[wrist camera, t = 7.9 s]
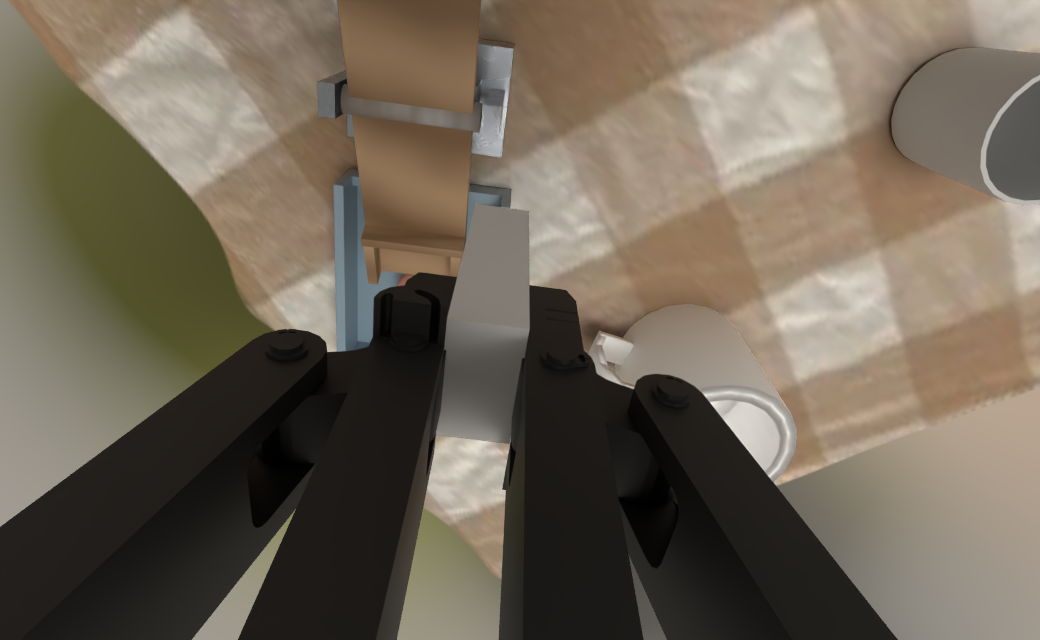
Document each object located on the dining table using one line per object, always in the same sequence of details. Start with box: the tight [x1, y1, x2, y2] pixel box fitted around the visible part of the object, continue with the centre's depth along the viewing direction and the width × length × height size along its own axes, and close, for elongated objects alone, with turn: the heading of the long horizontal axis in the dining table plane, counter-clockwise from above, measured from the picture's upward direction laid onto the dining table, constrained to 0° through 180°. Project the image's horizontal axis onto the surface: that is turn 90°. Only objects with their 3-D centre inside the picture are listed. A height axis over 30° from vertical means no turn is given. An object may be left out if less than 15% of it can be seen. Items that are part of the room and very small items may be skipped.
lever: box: [337, 0, 483, 285], centre depth 30 cm, size 24×7×9 cm, turn 173°
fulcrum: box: [317, 39, 515, 157], centre depth 33 cm, size 6×9×10 cm, turn 82°
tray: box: [334, 168, 511, 352], centre depth 42 cm, size 14×11×4 cm
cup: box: [891, 48, 1040, 205], centre depth 34 cm, size 7×10×9 cm
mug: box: [588, 304, 797, 482], centre depth 42 cm, size 14×10×11 cm
